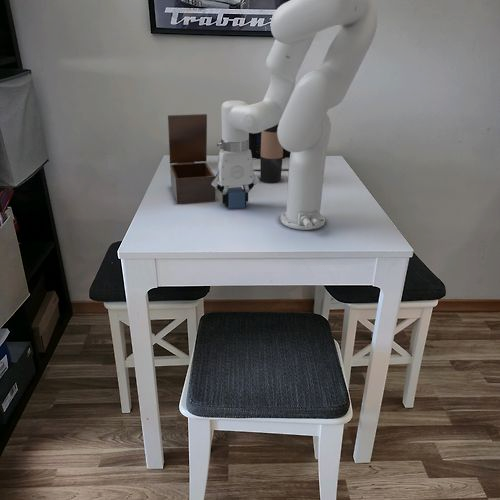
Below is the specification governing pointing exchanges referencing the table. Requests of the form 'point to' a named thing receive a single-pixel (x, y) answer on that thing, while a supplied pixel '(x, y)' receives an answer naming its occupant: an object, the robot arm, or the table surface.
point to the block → (236, 198)
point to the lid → (187, 138)
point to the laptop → (255, 148)
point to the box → (192, 182)
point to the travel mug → (271, 156)
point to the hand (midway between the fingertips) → (235, 204)
